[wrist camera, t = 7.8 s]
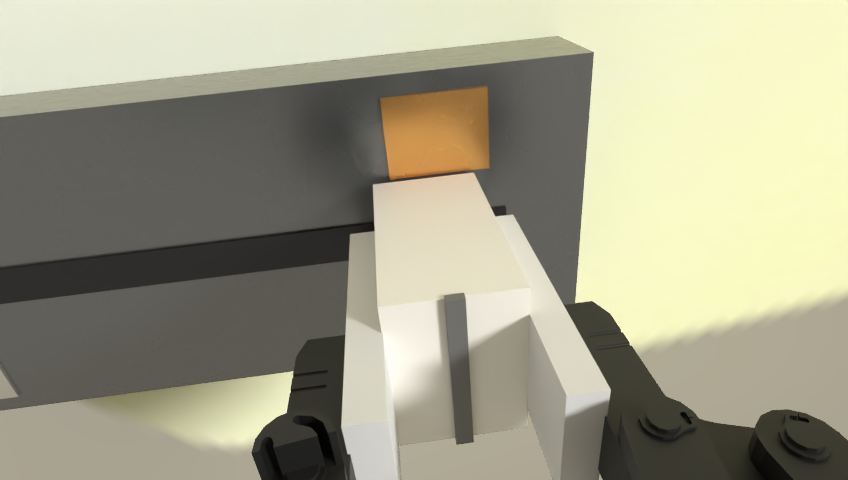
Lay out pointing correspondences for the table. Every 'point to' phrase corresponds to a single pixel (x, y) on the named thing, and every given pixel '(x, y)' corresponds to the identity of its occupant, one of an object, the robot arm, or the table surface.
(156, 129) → the fader panel
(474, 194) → the fader
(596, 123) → the table surface
